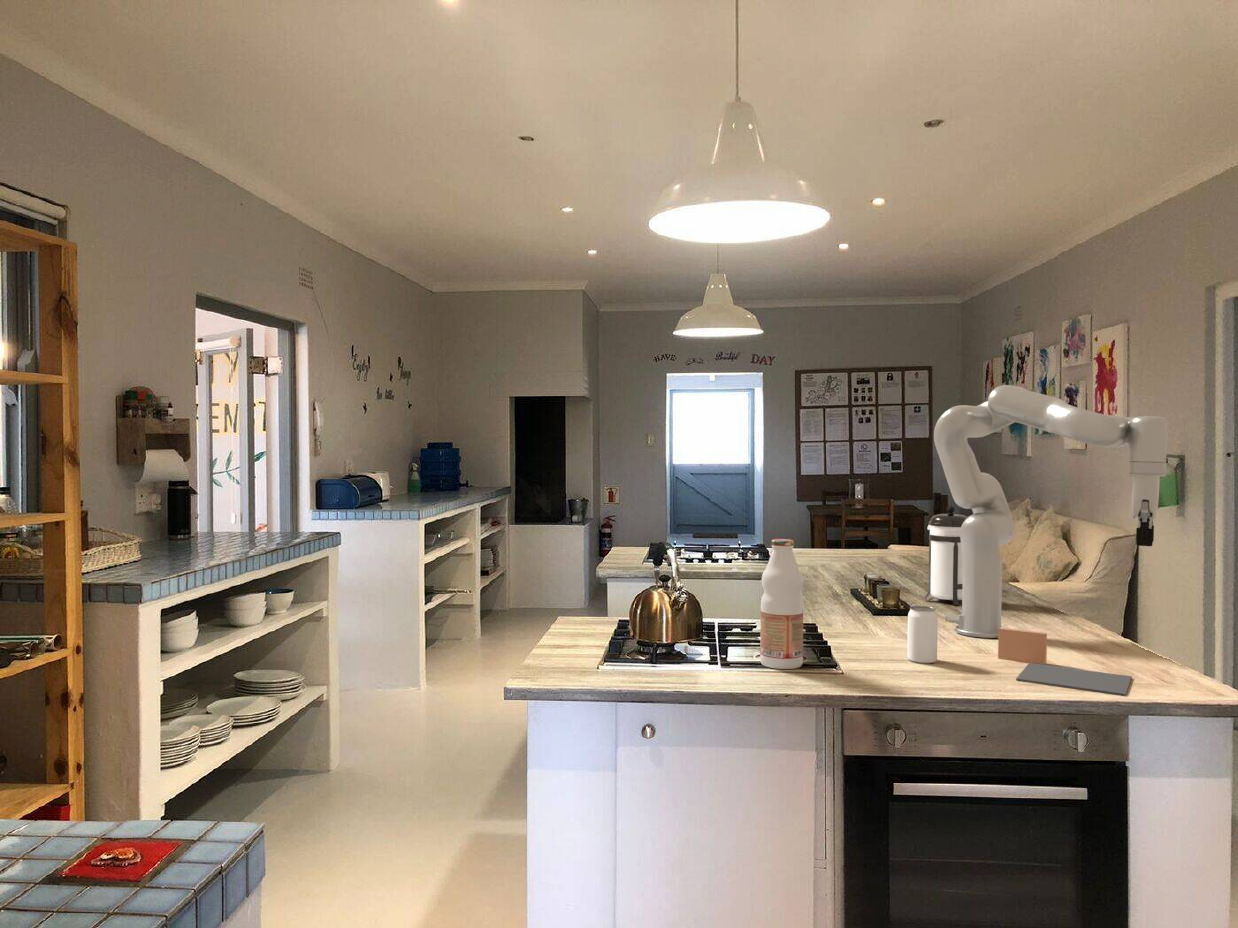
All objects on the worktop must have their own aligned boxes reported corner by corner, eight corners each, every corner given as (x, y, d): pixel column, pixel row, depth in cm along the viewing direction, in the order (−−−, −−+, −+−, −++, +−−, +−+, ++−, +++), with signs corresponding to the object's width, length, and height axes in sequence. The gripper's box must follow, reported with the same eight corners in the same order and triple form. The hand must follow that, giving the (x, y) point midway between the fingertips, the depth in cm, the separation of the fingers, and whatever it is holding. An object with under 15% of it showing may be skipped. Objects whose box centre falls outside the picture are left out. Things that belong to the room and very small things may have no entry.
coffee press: (929, 605, 271) (930, 507, 271) (920, 596, 287) (921, 503, 286) (989, 607, 269) (990, 508, 268) (976, 598, 284) (978, 504, 283)
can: (936, 658, 206) (937, 606, 206) (937, 664, 200) (938, 611, 199) (907, 655, 208) (908, 604, 208) (906, 662, 202) (907, 609, 202)
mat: (1016, 680, 187) (1016, 678, 187) (1029, 664, 200) (1029, 662, 200) (1125, 695, 176) (1125, 693, 176) (1131, 678, 189) (1131, 676, 189)
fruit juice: (763, 669, 195) (765, 542, 194) (757, 659, 204) (758, 537, 203) (806, 670, 195) (808, 542, 194) (798, 659, 204) (799, 537, 203)
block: (998, 658, 206) (998, 628, 206) (999, 657, 208) (1000, 627, 207) (1045, 664, 201) (1046, 634, 200) (1046, 663, 202) (1047, 632, 202)
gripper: (1130, 468, 215) (1128, 539, 215) (1126, 470, 200) (1124, 546, 201) (1166, 469, 211) (1164, 541, 211) (1165, 471, 196) (1163, 548, 197)
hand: (1144, 543), depth 206 cm, fingers open, 9 cm apart
